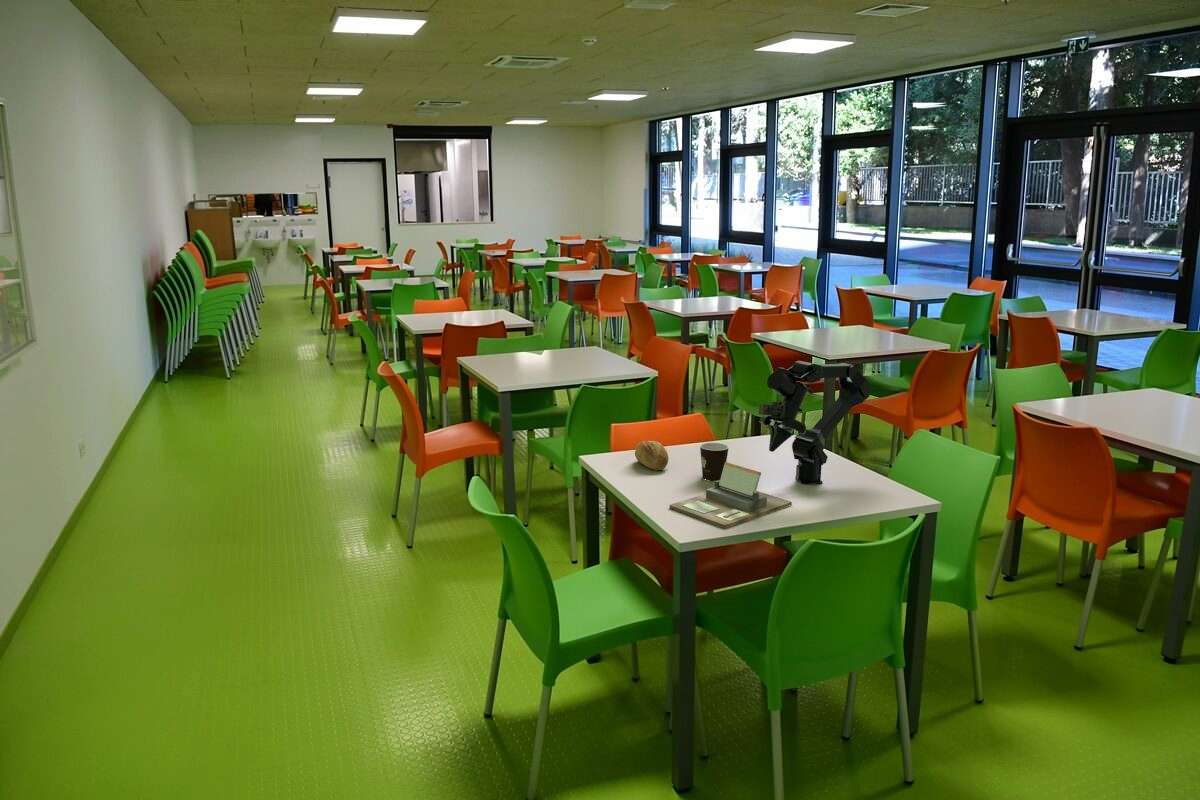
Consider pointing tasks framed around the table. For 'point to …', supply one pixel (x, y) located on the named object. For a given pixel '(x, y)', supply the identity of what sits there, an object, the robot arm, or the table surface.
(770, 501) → the switch board
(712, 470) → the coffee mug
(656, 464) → the bread roll
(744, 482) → the board
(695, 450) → the table surface
